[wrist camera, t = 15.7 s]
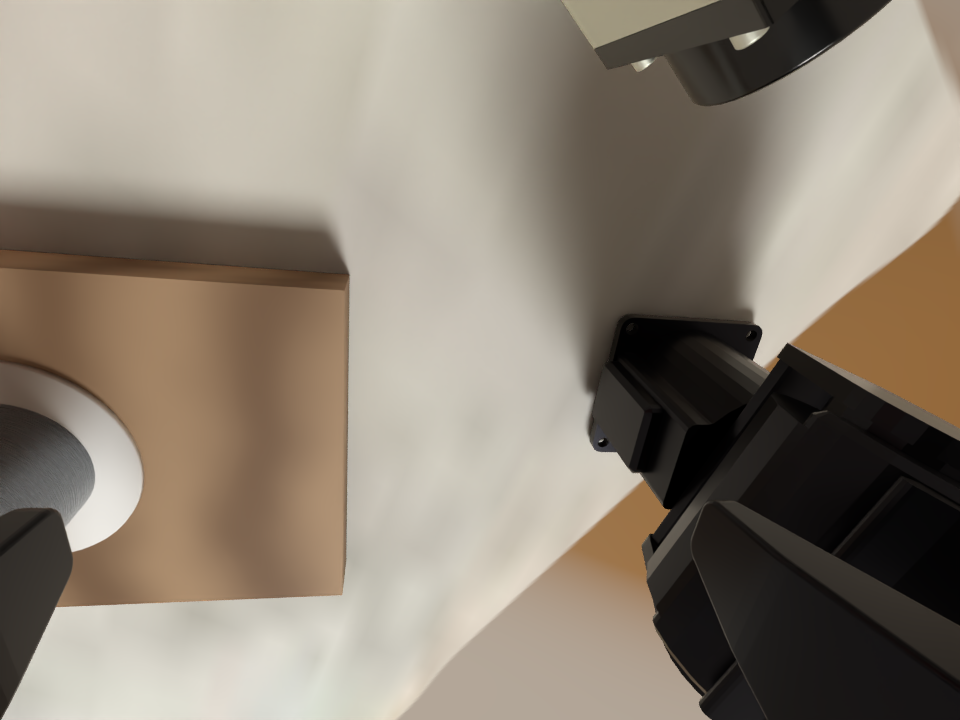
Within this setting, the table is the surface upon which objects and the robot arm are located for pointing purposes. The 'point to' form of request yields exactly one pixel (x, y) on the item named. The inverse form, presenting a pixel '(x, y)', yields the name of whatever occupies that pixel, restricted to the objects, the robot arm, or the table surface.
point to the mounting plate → (189, 420)
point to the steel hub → (41, 464)
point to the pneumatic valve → (719, 38)
